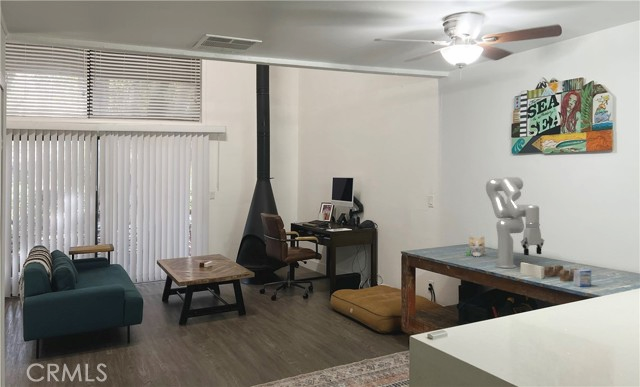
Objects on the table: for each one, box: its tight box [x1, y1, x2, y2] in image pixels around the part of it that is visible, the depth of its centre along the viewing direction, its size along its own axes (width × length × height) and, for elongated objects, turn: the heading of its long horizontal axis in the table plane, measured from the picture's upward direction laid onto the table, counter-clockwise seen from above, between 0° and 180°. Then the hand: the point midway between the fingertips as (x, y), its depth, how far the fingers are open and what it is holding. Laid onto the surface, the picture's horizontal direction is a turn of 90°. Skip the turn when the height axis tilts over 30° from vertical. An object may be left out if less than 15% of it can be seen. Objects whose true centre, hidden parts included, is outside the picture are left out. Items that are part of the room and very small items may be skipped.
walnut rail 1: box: [544, 264, 564, 278], centre depth 281 cm, size 12×2×6 cm, turn 111°
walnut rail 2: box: [559, 268, 580, 282], centre depth 270 cm, size 12×2×6 cm, turn 111°
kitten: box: [465, 235, 487, 258], centre depth 351 cm, size 15×10×15 cm
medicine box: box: [573, 268, 592, 288], centre depth 257 cm, size 8×4×9 cm, turn 105°
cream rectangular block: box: [520, 262, 545, 280], centre depth 282 cm, size 16×2×7 cm, turn 21°
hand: (532, 254), depth 281 cm, fingers open, 9 cm apart
